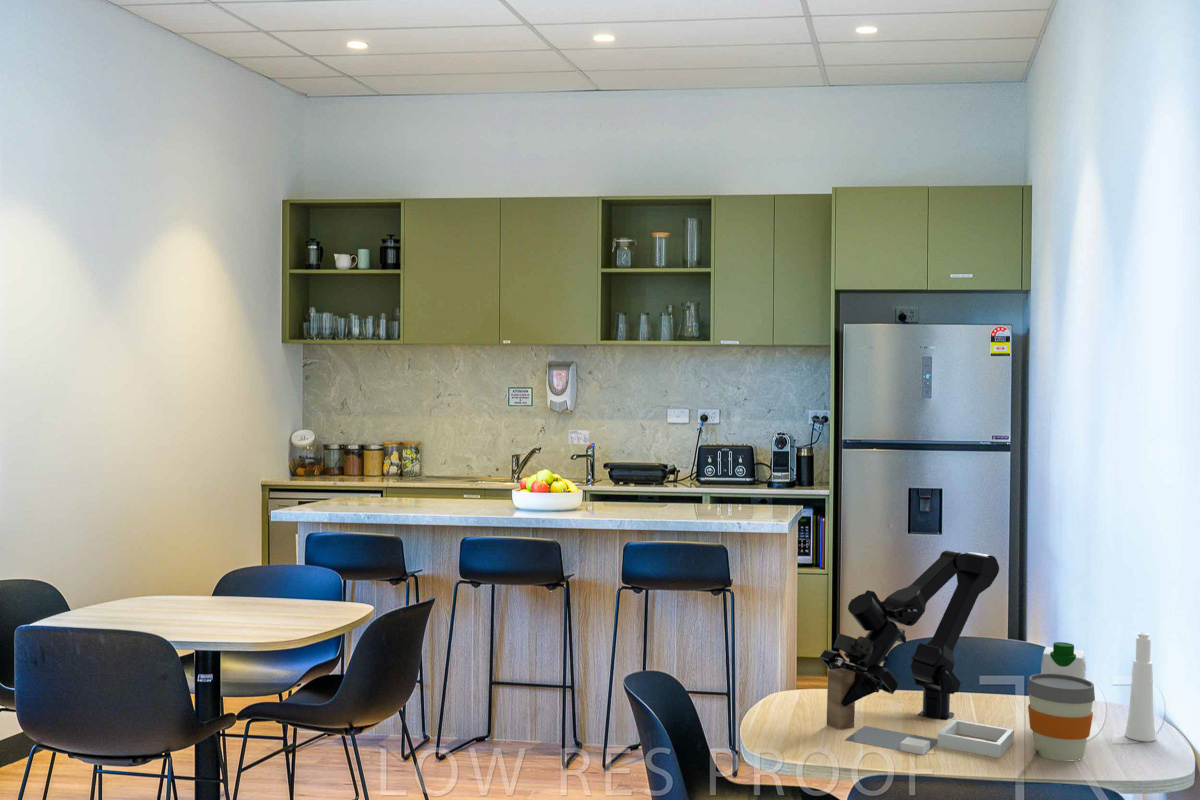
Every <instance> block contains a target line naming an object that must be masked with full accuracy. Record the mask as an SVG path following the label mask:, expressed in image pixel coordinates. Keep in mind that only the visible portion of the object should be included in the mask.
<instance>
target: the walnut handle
mask: <svg viewBox="0 0 1200 800" xmlns="http://www.w3.org/2000/svg"><path fill="white" fill-rule="evenodd" d="M855 673H856V672H853V671H850V670H847V669H844V668H839V669H831V670H829V669H828V670H827V691H826V692H827V693H826V694H827V698H826V702H827V703H826V726H829V727H831V728H834V729H836V730H839V731H841V730H846V729H847V730H848V729H853V728H855V712H856V711H855V709H856V708H855V707H856V701H855V702H853V703H851V704H849V705H847V706H843V705H842V701H843V699H844V697H845V695H846V694H847V692H848V691H849V689H850V687H851V686H852V684H853V683H854V681H855Z"/></svg>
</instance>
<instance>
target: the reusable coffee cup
mask: <svg viewBox="0 0 1200 800" xmlns="http://www.w3.org/2000/svg"><path fill="white" fill-rule="evenodd" d="M1027 681H1028V682H1027V688H1026V690H1027V691H1026V692H1027V694H1028V700H1029V704H1028V706H1027V710H1028V719H1029V720H1028V721H1029V728H1030V731H1032V738H1033V739H1032V740H1033V747H1034V749H1036V751H1035V752H1034V753H1035V754H1037V755H1038V756H1040V757H1042V758H1046V759H1048V760H1049V759H1050V760H1053V761H1058V760H1079V759H1082V758H1083V759H1084V756H1085V749H1086V744H1087V738H1089V737H1090V735H1091V729H1092V722H1093V716H1094V713H1093V711H1092V708H1093V703H1094V702H1095V700H1096V694H1095V684H1094V682H1093V681H1090V680H1087V679H1086V680H1085V679H1082V678H1078V677H1074V676H1068V675H1061V674H1041V673H1036V674H1032V675H1030V676H1029V677H1028V680H1027ZM1083 759H1082V760H1083ZM1079 761H1080V760H1079Z"/></svg>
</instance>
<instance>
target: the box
mask: <svg viewBox="0 0 1200 800" xmlns="http://www.w3.org/2000/svg"><path fill="white" fill-rule="evenodd" d="M1014 733H1015V730H1014V729H1012V728H1006V727H1000V726H994V725H988V724H983V723H977V722H971V721H966V720H962V719H961V720H959V719H955V718H954V719H953V720H951V721H950V722H949V723H948V724H947V725H946V726H945V727H944V728H942V729H941V730H940V731H939V732H938V733H937V739H938V743H937V744H936V745H937V747H940V748H945V749H950V750H956V751H962V752H967V753H972V754H977V755H982V756H987V757H988V756H989V757H993V758H999V759H1000V758H1001V757H1003V755H1004V753H1005V752H1006V751H1008V749H1009V748H1010V747H1011V746H1013V744H1014V743H1015V742H1014V741H1015V740H1014V736H1015V735H1014ZM962 735H963V736H962ZM969 736H970V738H968V737H969ZM974 738H978V739H974ZM980 739H985V740H988V741H985V740H980ZM989 740H990V741H989ZM991 740H992V741H991ZM995 741H996V742H995Z"/></svg>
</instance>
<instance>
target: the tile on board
mask: <svg viewBox="0 0 1200 800" xmlns="http://www.w3.org/2000/svg"><path fill="white" fill-rule="evenodd" d="M929 749H930V741H926V740H921V739H915V738H910V737H907V738H906V739H904V740H903V741H902V742H901V743H900V750H901V751H900V752H903V751H906V752H905V753H908V752H912V753H911V754H913V753H917V754H916V755H918V754H922V755H921V756H924V755H923V754H925V753H926V752H927V751H928V750H929ZM927 753H928V752H927ZM927 753H926V754H927ZM926 754H925V755H926Z"/></svg>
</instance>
